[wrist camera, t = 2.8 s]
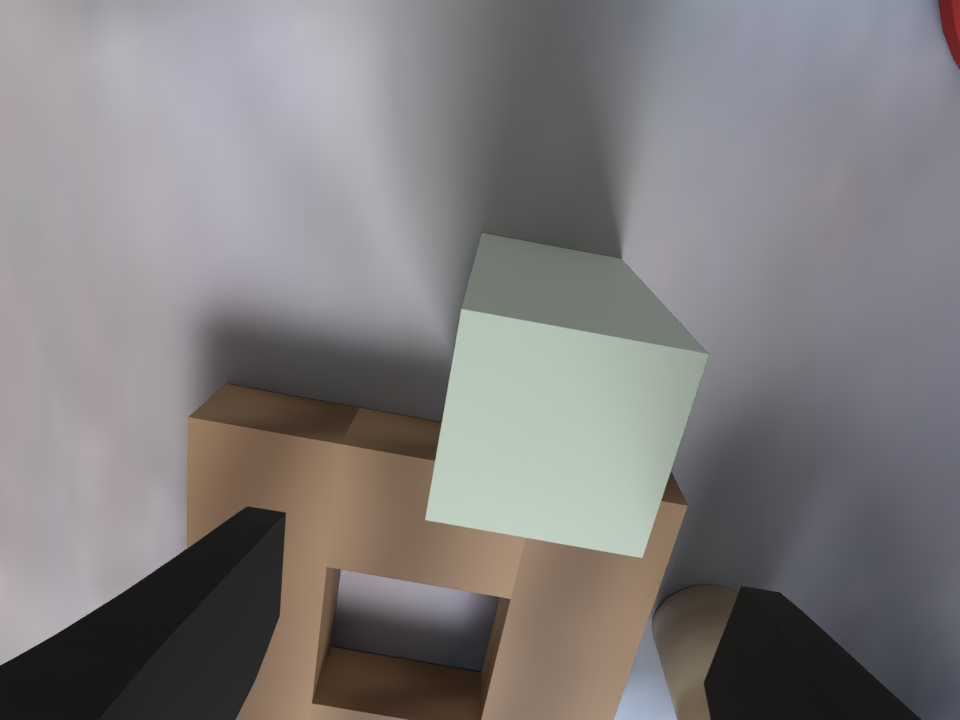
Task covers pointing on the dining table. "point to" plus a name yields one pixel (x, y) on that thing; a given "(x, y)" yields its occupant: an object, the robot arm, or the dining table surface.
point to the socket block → (412, 570)
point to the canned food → (951, 26)
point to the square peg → (562, 400)
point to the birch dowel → (691, 643)
